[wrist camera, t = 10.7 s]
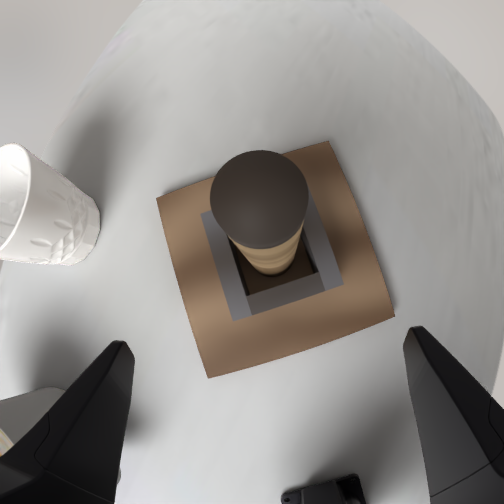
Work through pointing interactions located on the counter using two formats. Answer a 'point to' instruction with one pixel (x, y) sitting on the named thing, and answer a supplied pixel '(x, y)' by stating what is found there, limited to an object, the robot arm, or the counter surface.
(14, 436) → the coffee mug
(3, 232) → the white cup
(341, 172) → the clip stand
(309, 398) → the counter surface
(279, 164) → the wooden peg
